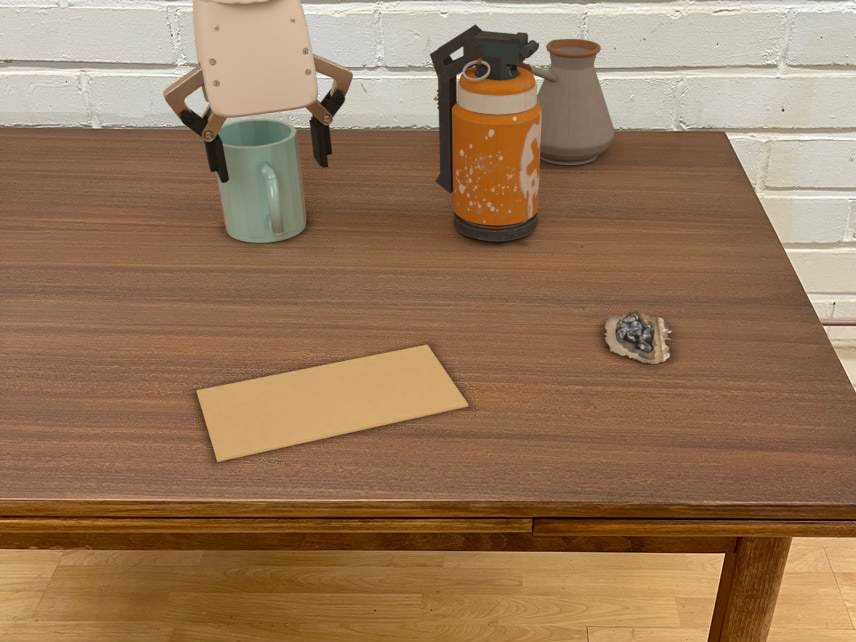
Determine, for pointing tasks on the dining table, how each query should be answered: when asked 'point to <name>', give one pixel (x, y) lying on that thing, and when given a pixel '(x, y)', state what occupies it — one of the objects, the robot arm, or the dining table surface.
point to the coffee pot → (572, 104)
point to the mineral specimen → (638, 336)
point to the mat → (326, 401)
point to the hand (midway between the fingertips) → (272, 170)
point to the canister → (489, 133)
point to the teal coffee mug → (262, 181)
